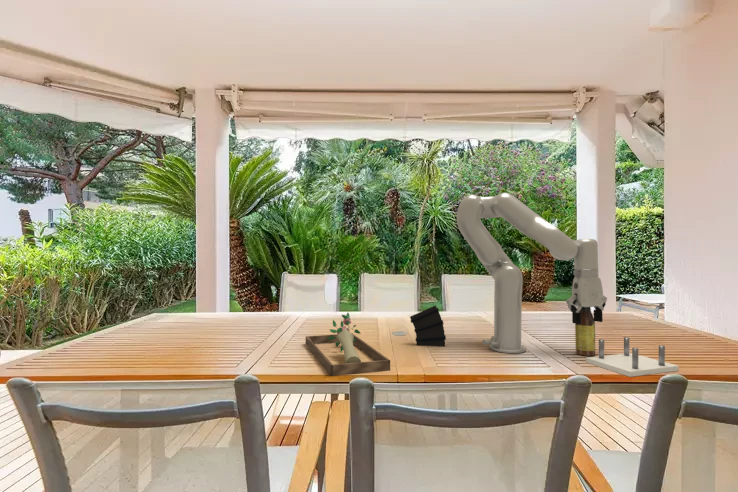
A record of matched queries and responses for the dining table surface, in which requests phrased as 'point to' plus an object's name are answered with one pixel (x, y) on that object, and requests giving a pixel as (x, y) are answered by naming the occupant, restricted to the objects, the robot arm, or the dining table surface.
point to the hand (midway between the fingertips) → (587, 322)
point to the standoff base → (627, 365)
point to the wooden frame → (348, 368)
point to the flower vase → (346, 340)
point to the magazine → (429, 327)
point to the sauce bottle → (585, 333)
